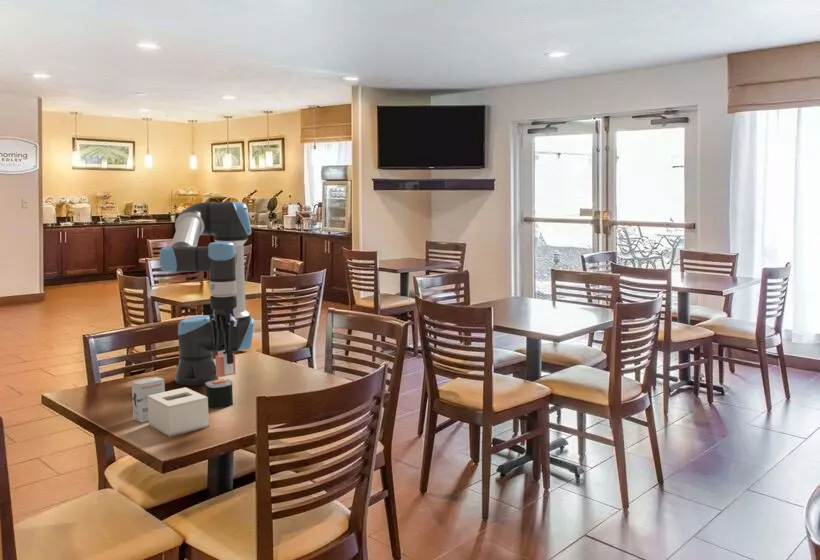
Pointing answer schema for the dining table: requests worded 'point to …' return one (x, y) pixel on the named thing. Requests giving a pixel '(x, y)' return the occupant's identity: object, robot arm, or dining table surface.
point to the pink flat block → (222, 365)
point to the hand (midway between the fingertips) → (226, 372)
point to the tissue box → (178, 411)
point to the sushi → (219, 393)
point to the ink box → (144, 396)
